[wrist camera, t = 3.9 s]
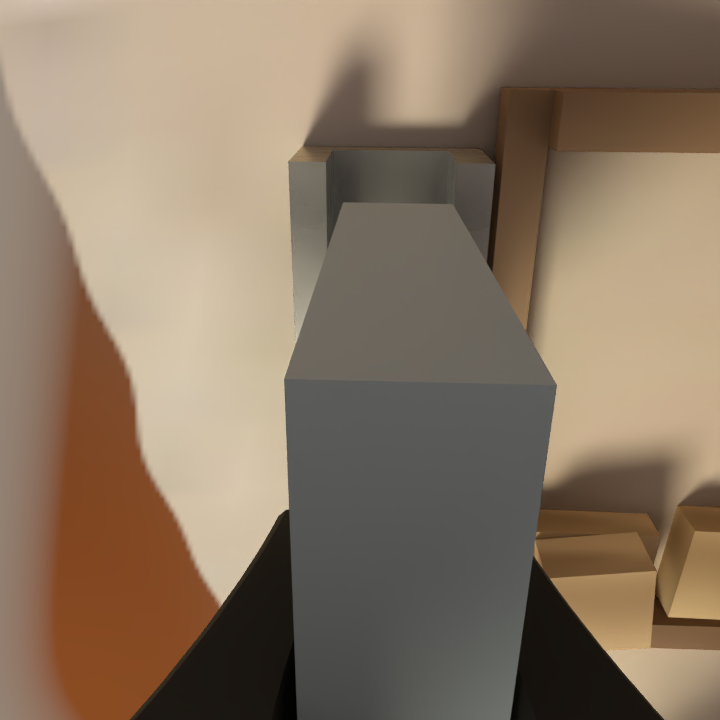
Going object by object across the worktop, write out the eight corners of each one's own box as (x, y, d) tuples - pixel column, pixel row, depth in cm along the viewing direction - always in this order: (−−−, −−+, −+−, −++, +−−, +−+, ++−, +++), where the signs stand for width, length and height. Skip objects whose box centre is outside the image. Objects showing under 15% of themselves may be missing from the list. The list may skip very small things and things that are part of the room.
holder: (455, 456, 20) (464, 509, 18) (310, 452, 20) (301, 505, 18) (479, 148, 16) (495, 163, 14) (302, 146, 16) (288, 161, 14)
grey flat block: (452, 204, 11) (557, 385, 4) (428, 588, 14) (467, 1027, 7) (342, 202, 11) (284, 379, 4) (342, 585, 14) (309, 1019, 7)
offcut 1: (621, 584, 23) (637, 621, 21) (498, 579, 23) (506, 615, 21) (641, 503, 21) (660, 537, 20) (511, 498, 21) (520, 531, 20)
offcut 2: (632, 606, 21) (650, 647, 19) (536, 612, 21) (546, 653, 20) (637, 532, 20) (656, 570, 18) (534, 539, 20) (546, 578, 18)
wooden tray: (814, 624, 22) (885, 718, 19) (454, 613, 23) (465, 704, 20) (1027, 91, 15) (1195, 100, 12) (501, 86, 16) (530, 95, 13)
